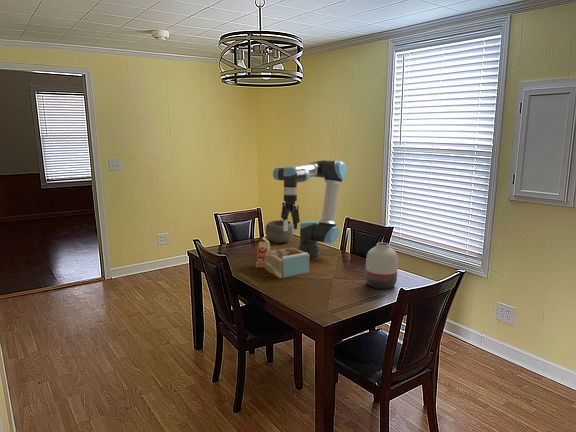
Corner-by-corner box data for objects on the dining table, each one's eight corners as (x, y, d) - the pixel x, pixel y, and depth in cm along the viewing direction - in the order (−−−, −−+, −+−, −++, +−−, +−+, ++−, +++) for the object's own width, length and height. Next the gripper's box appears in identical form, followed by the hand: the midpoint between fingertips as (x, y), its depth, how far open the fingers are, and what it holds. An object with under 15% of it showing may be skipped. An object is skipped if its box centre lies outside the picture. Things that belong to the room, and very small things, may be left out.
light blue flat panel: (308, 273, 253) (307, 252, 251) (309, 273, 252) (308, 252, 250) (282, 278, 243) (281, 257, 242) (283, 279, 242) (282, 257, 241)
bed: (293, 265, 269) (293, 247, 266) (309, 273, 254) (309, 254, 251) (265, 271, 258) (265, 252, 256) (280, 280, 243) (280, 259, 241)
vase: (390, 293, 224) (392, 250, 219) (360, 287, 233) (362, 245, 228) (400, 283, 238) (403, 242, 233) (371, 278, 247) (373, 238, 242)
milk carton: (269, 270, 260) (269, 238, 256) (254, 269, 262) (254, 237, 258) (272, 265, 269) (272, 234, 265) (258, 264, 271) (258, 233, 267)
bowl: (263, 244, 316) (262, 224, 313) (268, 237, 337) (268, 219, 333) (290, 245, 313) (290, 226, 310) (295, 238, 333) (295, 220, 330)
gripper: (275, 192, 250) (275, 229, 255) (294, 197, 232) (294, 237, 237) (285, 191, 254) (285, 228, 259) (306, 196, 236) (306, 235, 241)
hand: (290, 232), depth 248 cm, fingers open, 9 cm apart
